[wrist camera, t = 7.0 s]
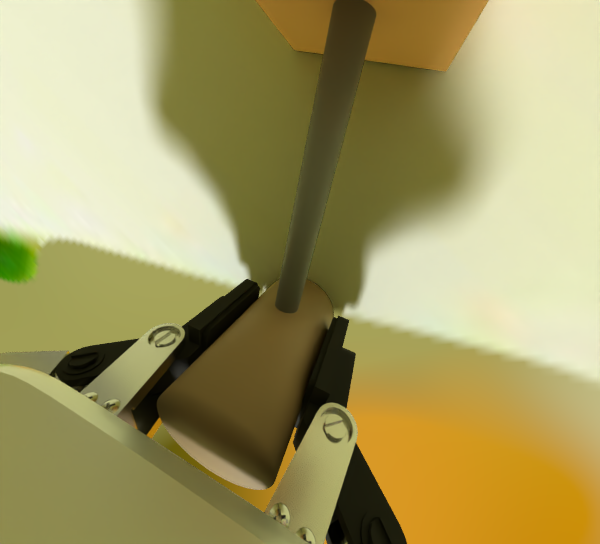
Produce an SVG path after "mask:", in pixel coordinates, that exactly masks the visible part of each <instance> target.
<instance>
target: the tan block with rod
mask: <svg viewBox="0 0 600 544" xmlns="http://www.w3.org/2000/svg"><path fill="white" fill-rule="evenodd" d="M255 1H256V2H257V3H258V4H259V6H260V7H261V8H262V10H263V11H264V12H265V13H266V15H267V16H268V17H269V19H270V20H271V21H272V22H273V24H274V25H275V26H276V28H277V29H278V30H279V31H280V33H281V34H282V35H283V37H284V38H285V39H286V40H287V42H288V43H289V44H290V46H291V47H292V48H293V49H294V50H297V51H304V52H311V53H318V54H323V59H322V64H321V70H320V75H319V80H318V85H317V90H316V95H315V100H314V106H313V111H312V116H311V121H310V126H309V131H308V136H307V142H306V147H305V152H304V157H303V162H302V167H301V172H300V178H299V183H298V188H297V193H296V198H295V203H294V208H293V214H292V219H291V224H290V229H289V234H288V239H287V244H286V250H285V255H284V260H283V265H282V270H281V275H280V279H279V280H277V281H275V282H274V283H273V284H272V285H271V286H270V287H269V288H268V289H267V290H266V291H265V292H264V293H263V294H262V295H261V296H260V297H259V298H258V299H257V300H256V301H255V302H254V303H253V304H252V305H251V306H250V307H249V308H248V309H247V310H246V311H245V312H244V313H243V314H242V315H241V316H240V317H239V318H238V319H237V320H236V321H235V322H234V323H233V324H232V325H231V326H230V327H229V328H228V329H227V330H226V331H225V332H224V333H223V334H222V335H221V336H220V337H219V338H218V339H217V340H216V341H215V342H214V343H213V344H212V345H211V346H210V347H209V348H208V349H207V350H206V351H205V352H204V353H203V354H202V355H201V356H200V357H199V358H198V359H197V360H196V361H194V362H193V363H192V364H191V365H190V366H189V367H188V368H187V369H186V370H185V371H184V372H183V373H182V374H181V375H180V376H179V377H178V378H177V379H176V380H175V381H174V382H173V383H172V384H171V385H170V386H169V387H168V388H167V389H166V390H165V391H164V392H163V393H162V394H161V395H160V397H159V398H158V400H157V411H158V414H159V417H160V419H161V421H162V423H163V425H164V426H165V428H166V429H167V431H168V432H169V433H170V435H171V436H172V437H173V438H174V440H175V441H176V442H177V443H178V444H179V445H180V446H181V447H182V448H183V449H184V450H185V451H186V452H187V453H188V454H189V455H190V456H191V457H193V458H194V459H195V460H196V461H198V462H199V463H200V464H202V465H203V466H204V467H206V468H207V469H208V470H210V471H211V472H213V473H215V474H216V475H218V476H220V477H222V478H223V479H226V480H227V481H229V482H232V483H234V484H236V485H239V486H242V487H245V488H249V489H255V490H262V489H267V488H269V487H271V486H272V485H273V484H274V482H275V479H276V477H277V474H278V471H279V468H280V466H281V463H282V460H283V457H284V454H285V452H286V449H287V446H288V443H289V441H290V438H291V435H292V432H293V429H294V427H295V424H296V421H297V419H298V416H299V413H300V410H301V407H302V400H303V397H304V394H305V392H306V389H307V386H308V383H309V381H310V378H311V375H312V373H313V370H314V367H315V365H316V362H317V359H318V356H319V354H320V351H321V348H322V346H323V343H324V340H325V337H326V335H327V332H328V329H329V327H330V324H331V321H332V319H333V316H334V312H333V306H332V303H331V301H330V299H329V297H328V296H327V294H326V293H325V292H324V291H323V290H322V289H321V288H320V287H319V286H318V285H316V284H315V283H313V282H311V281H309V280H307V279H306V278H307V275H308V271H309V267H310V263H311V259H312V256H313V252H314V248H315V244H316V241H317V237H318V233H319V229H320V226H321V222H322V218H323V214H324V211H325V207H326V203H327V199H328V196H329V192H330V188H331V184H332V181H333V177H334V173H335V169H336V165H337V162H338V158H339V154H340V150H341V147H342V143H343V139H344V135H345V132H346V128H347V124H348V120H349V117H350V113H351V109H352V105H353V102H354V98H355V94H356V90H357V87H358V83H359V79H360V75H361V72H362V68H363V64H364V60H368V61H375V62H382V63H389V64H396V65H403V66H410V67H417V68H424V69H431V70H439V71H447V69H448V68H449V66H450V64H451V63H452V61H453V59H454V58H455V56H456V54H457V53H458V51H459V49H460V48H461V46H462V44H463V43H464V41H465V39H466V38H467V36H468V34H469V33H470V31H471V29H472V27H473V26H474V24H475V22H476V21H477V19H478V17H479V16H480V14H481V12H482V11H483V9H484V7H485V6H486V4H487V2H488V1H489V0H255Z"/></svg>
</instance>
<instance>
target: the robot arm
mask: <svg viewBox="0 0 600 544" xmlns="http://www.w3.org/2000/svg"><path fill="white" fill-rule="evenodd" d="M259 291H260V287H259V286H258V284H257V283H256V282H254V281H251V280H249V279H246V280H245V281H243V282H242V283H241V284H240V285H238V286H237V287H236V288H234V289H233V290H232V291H231V292H230V293H228V294H227V295H225V296H222V297H220V298H219V299H217V300H216V301H215V302H214V303H212V304H211V305H210V306H208V307H207V308H206V309H204V310H203V311H202V312H200V313H199V314H198V315H197V316H195V317H194V318H193V319H191V320H190V321H189V322H187V323H186V324H185V325H183V326H182V327H181V326H179V325H177V324H171V323H170V324H169V323H168V324H162V325H158V326H156V327H154V328H152V329H151V330H149V331H148V332H147V333H146V334H145V335H143V336H142V337H141V338H140V339H134V340H126V341H120V342H113V343H106V344H100V345H93V346H88V347H83V348H81V349H78V350H76V351H74V352H72V353H69V351H41V352H12V353H11V352H10V353H0V544H324V541H325V538H326V541H327V544H407V542H406V539H405V536H404V533H403V531H402V529H401V527H400V524H399V522H398V521H397V519H396V517H395V515H394V513H393V511H392V509H391V507H390V506H389V504H388V502H387V500H386V498H385V496H384V494H383V493H382V491H381V489H380V487H379V485H378V483H377V481H376V479H375V477H374V476H373V474H372V472H371V470H370V468H369V466H368V465H367V462H366V461H365V459H364V457H363V455H362V453H361V451H360V449H359V447H358V446H357V444H356V440H357V433H358V432H357V425H356V423H355V420H354V418H353V416H352V415H351V413H350V412H349V411H348V410H347V409H346V408H347V402H348V396H349V390H350V384H351V379H352V373H353V367H354V361H355V355H356V354H355V353H354V352H351V351H349V350H347V349H345V348H343V347H342V346H343V342H344V339H345V335H346V331H347V327H348V323H349V320H348V319H345V318H343V317H340V316H338V318H335V317H333V319H332V321H331V324H330V327H329V329H328V332H327V335H326V337H325V340H324V343H323V346H322V348H321V351H320V354H319V356H318V359H317V362H316V365H315V367H314V370H313V373H312V375H311V378H310V381H309V383H308V386H307V389H306V392H305V394H304V397H303V400H302V407H301V410H300V413H299V416H298V419H297V421H296V424H295V427H296V428H297V430H296V433H295V436H294V437H295V438H294V441H293V444H294V447H295V450H296V453H295V455H294V457H293V459H292V461H291V463H290V465H289V467H288V468H287V470H286V472H285V474H284V476H283V478H282V480H281V482H280V483H279V485H278V487H277V489H276V491H275V493H274V495H273V497H272V499H271V500H270V502H269V504H268V506H267V508H266V510H265V512H262V511H261V510H259V509H258V508H256V507H255V506H253V505H252V504H250V503H249V502H247V501H245V500H244V499H242V498H241V497H239V496H238V495H236V494H235V493H233V492H232V491H230V490H229V489H227V488H226V487H224V486H223V485H221V484H220V483H218V482H217V481H215V480H214V479H212V478H211V477H209V476H208V475H206V474H205V473H203V472H202V471H200V470H198V469H197V468H195V467H194V466H192V465H191V464H189V463H188V462H186V461H185V460H183V459H182V458H180V457H179V456H177V455H175V454H174V453H172V452H171V451H169V450H168V449H166V448H165V447H163V446H162V445H160V444H159V443H157V442H156V441H154V440H152V437H153V436H154V434H155V433H156V431H157V430H158V429H159V427H160V425H161V424H162V421H161V419H160V417H159V414H158V411H157V400H158V398H159V397H160V395H161V394H162V393H163V392H164V391H165V390H166V389H167V388H168V387H169V386H170V385H171V384H172V383H173V382H174V381H175V380H176V379H177V378H178V377H179V376H180V375H181V374H182V373H183V372H184V371H185V370H186V369H187V368H188V367H189V366H190V365H191V364H192V363H193V362H194V361H196V360H197V359H198V358H199V357H200V356H201V355H202V354H203V353H204V352H205V351H206V350H207V349H208V348H209V347H210V346H211V345H212V344H213V343H214V342H215V341H216V340H217V339H218V338H219V337H220V336H221V335H222V334H223V333H224V332H225V331H226V330H227V329H228V328H229V327H230V326H231V325H232V324H233V323H234V322H235V321H236V320H237V319H238V318H239V317H240V316H241V315H242V314H243V313H244V312H245V311H246V310H247V309H248V308H249V307H250V306H251V305H252V304H253V303H254V302H255V301H256V300H257V299H258V298H259Z"/></svg>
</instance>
